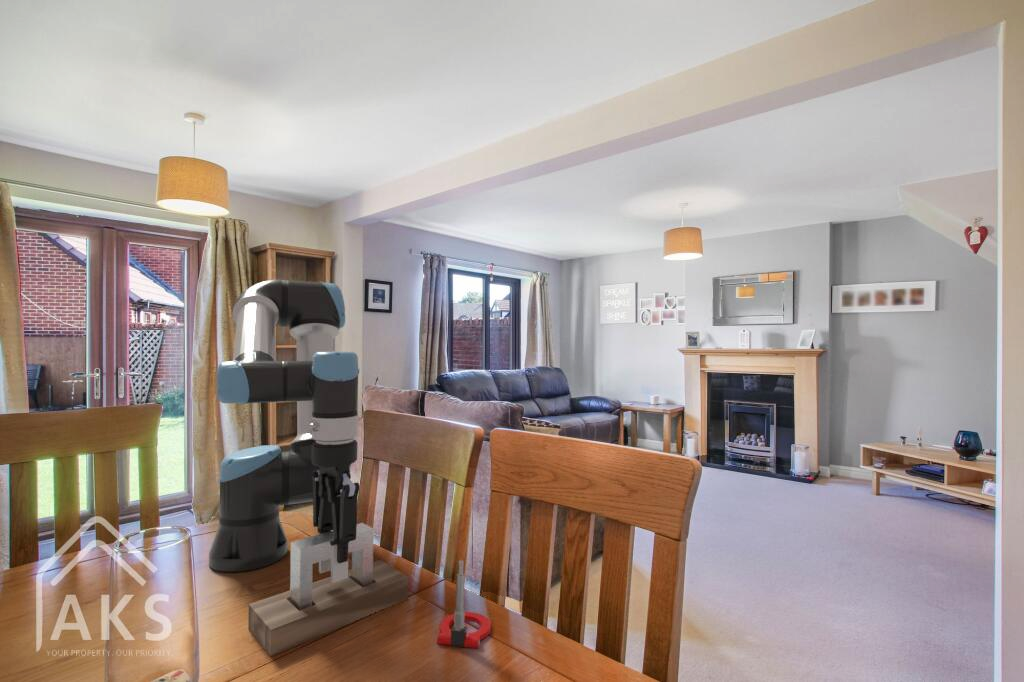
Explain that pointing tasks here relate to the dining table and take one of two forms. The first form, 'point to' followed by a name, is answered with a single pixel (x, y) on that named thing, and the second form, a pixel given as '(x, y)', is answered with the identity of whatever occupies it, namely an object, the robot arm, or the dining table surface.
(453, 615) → the tow hook
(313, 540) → the clip
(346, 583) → the slotted wooden block
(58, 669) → the dining table surface
